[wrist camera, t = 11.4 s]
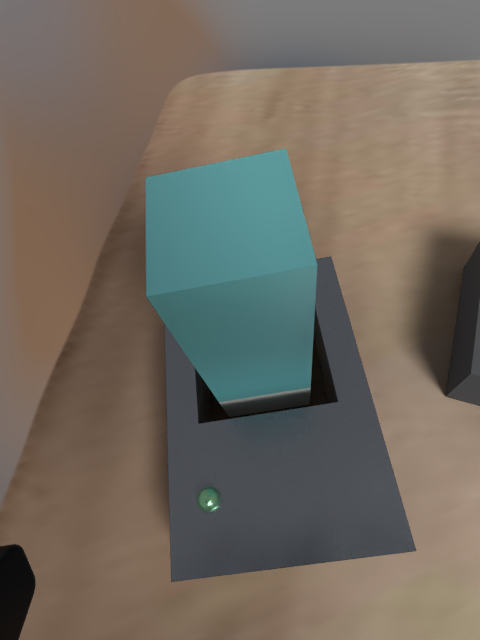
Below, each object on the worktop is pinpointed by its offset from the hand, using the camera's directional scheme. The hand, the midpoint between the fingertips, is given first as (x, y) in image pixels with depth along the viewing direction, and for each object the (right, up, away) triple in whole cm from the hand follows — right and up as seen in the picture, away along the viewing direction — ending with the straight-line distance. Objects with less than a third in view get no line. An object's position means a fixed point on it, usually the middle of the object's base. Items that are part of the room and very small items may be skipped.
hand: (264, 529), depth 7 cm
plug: (+1, +1, +16) cm, 16 cm away
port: (+1, -1, +14) cm, 15 cm away
